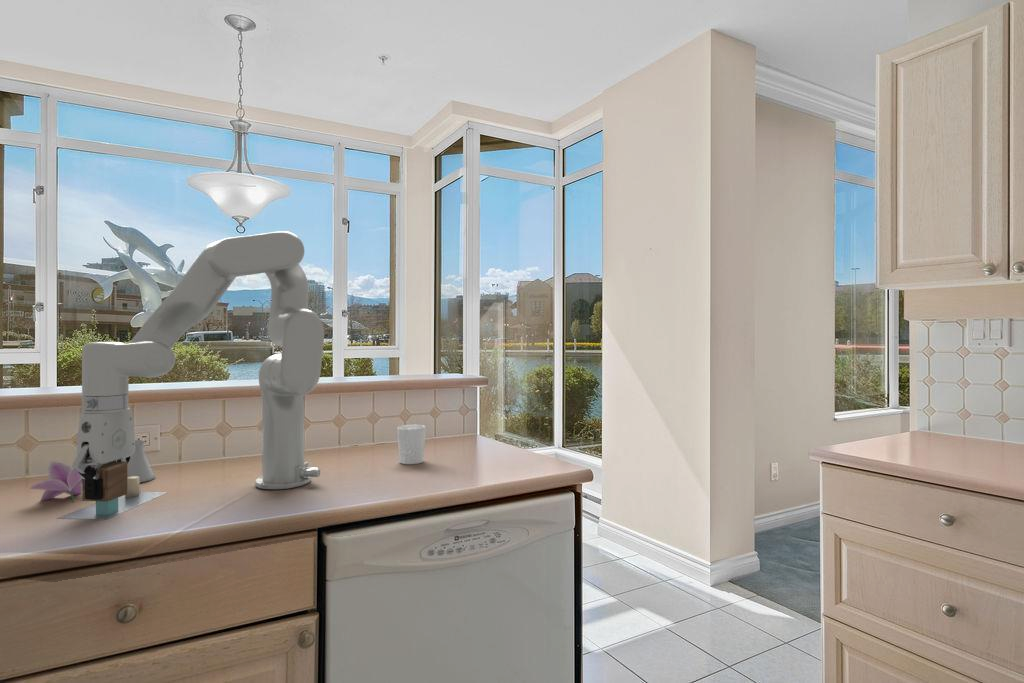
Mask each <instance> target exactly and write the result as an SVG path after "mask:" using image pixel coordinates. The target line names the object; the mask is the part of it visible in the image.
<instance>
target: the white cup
mask: <svg viewBox="0 0 1024 683" xmlns="http://www.w3.org/2000/svg"><path fill="white" fill-rule="evenodd" d="M425 443H426V425H424V424H403V425H402V424H401V425H399V426H397V447H398V449H397V450H398V453H399V454H398V459H399V460H398V462H399V463H400V464H403V465H417V464H421V463H423V462H424V454H425V453H424V452H425V445H426V444H425Z"/></svg>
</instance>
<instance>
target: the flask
mask: <svg viewBox="0 0 1024 683" xmlns="http://www.w3.org/2000/svg"><path fill="white" fill-rule="evenodd" d="M145 442H146V439H141V438H140V439H139V438H138V439H135V452H134V453H133V455H132V456H131V458H130V461H129V462H128V464H127V466H128V468H127V477H132V476H139V484H140V483H145V482H149V481H151V480H154V479H155V478H156V475H155V473H154V471H153V468H152V467H151V465H150V463H149V460H148V458H147V456H146V452H145V446H144V444H145Z"/></svg>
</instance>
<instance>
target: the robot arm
mask: <svg viewBox="0 0 1024 683" xmlns="http://www.w3.org/2000/svg"><path fill="white" fill-rule="evenodd" d="M304 256H305V247H304V243H303V242H302V240H301V239H300V237H299V236H297V234H295V233H292V232H290V231H285V230H282V231H281V230H280V231H272V232H265V233H258V234H252V235H251V234H250V235H244V236H243V235H242V236H241V235H240V236H233V237H232V236H231V237H227V238H223V239H220V240H217V241H213V242H212V243H210V244H208V245H207V246H206V247H205V248H204V249H203V250H202V251H201V253H200V254H199V255H198V257H197V259H195V261H193V263H192V264H191V266H190V268H189V269H188V270H187V271H186V273H185V274H184V275H183V277H182V278H181V279H180V281H179V282H178V283H177V284H176V285H175V286H174V288H173V290H172V291H171V292H170V293H169V294H168V295H167V297H166V298H165V299H164V300H163V301H162V302H161V304H160V305H158V308H156V310H154V312H153V313H152V314H151V315H150V316H149V317H148V319H147V320H145V322H144V323H143V325H142V326H141V327H140V328H139V330H138V331H137V332H136V334H135V335H134V336H133V337H132V338H131V340H130V342H128V343H124V342H119V341H92V342H87V343H85V344H84V345H83V347H82V349H81V350H82V351H81V413H80V417H79V421H78V428H77V437H76V458H75V459H74V461H73V463H72V465H71V468H72V469H75V470H76V471H78V473H79V474H80V475H82V479H85V499H94V500H99V499H102V498H103V478H100V475H101V471H102V466H103V464H106V463H110V462H113V461H119V462H127V464H128V462H129V461H130V458H131V456H132V455H133V453H134V452H135V440H136V437H135V424H134V419H133V418H134V417H133V414H132V410H131V408H129V379H130V378H129V377H136V378H137V377H141V378H152V379H153V378H160V377H162V376H165V375H167V374H168V373H169V372H170V371H172V369H173V368H174V367H175V364H176V354H175V352H174V351H173V347H174V346H175V345H176V344H177V342H179V340H180V338H181V337H182V336H183V335H184V334H185V333H187V331H188V330H190V329H191V328H192V327H193V326H195V325H197V324H199V323H200V322H202V321H203V320H205V318H207V317H208V316H209V315H210V314H211V313H212V312H213V311H214V308H216V306H217V305H218V303H219V302H220V300H221V298H222V297H223V296H224V294H225V293H226V291H227V290H228V289H229V288H230V286H231V285H232V284H233V283H234V280H235V279H236V278H238V277H243V276H244V277H245V276H249V275H250V276H251V275H259V274H265V275H266V277H267V278H268V280H269V283H270V289H271V291H270V292H271V293H270V294H271V295H270V298H271V299H270V306H269V307H270V308H269V317H268V325H267V335H268V338H269V339H270V341H271V342H272V343H273V344H275V346H277V347H280V348H281V353H275V354H272V355H270V356H268V357H267V358H266V359H265V360H263V362H262V364H261V365H260V367H259V370H258V383H259V391H260V396H261V397H260V398H261V418H262V419H261V422H262V423H261V443H262V444H261V447H262V449H261V450H262V451H261V456H262V459H261V462H262V463H261V464H262V466H261V469H262V470H261V472H262V475H261V476H260V477H258V478H256V479H255V481H254V484H255V485H254V486H255V487H257V488H259V489H263V490H285V489H287V490H288V489H294V488H297V487H298V488H299V487H302V486H305V485H307V484H308V483H310V482H311V481H312V478H319V477H320V476H321V469H320V468H319V467H310V466H309V461H305V405H304V398H303V396H304V395H307V394H309V393H311V392H312V391H314V389H315V388H316V386H317V385H318V384H319V381H320V377H321V372H322V363H323V362H322V361H323V353H324V352H323V351H324V340H325V329H324V325H323V322H322V319H321V317H320V316H319V315H318V314H317V313H316V312H314V311H313V310H311V309H309V293H310V292H309V282H308V278H307V275H306V273H305V271H304V270H303V268H302V266H301V264H300V263H301V262H302V261H303V258H304ZM92 466H95V470H94V471H93V470H92V469H91V467H92ZM127 468H128V466H127Z"/></svg>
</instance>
